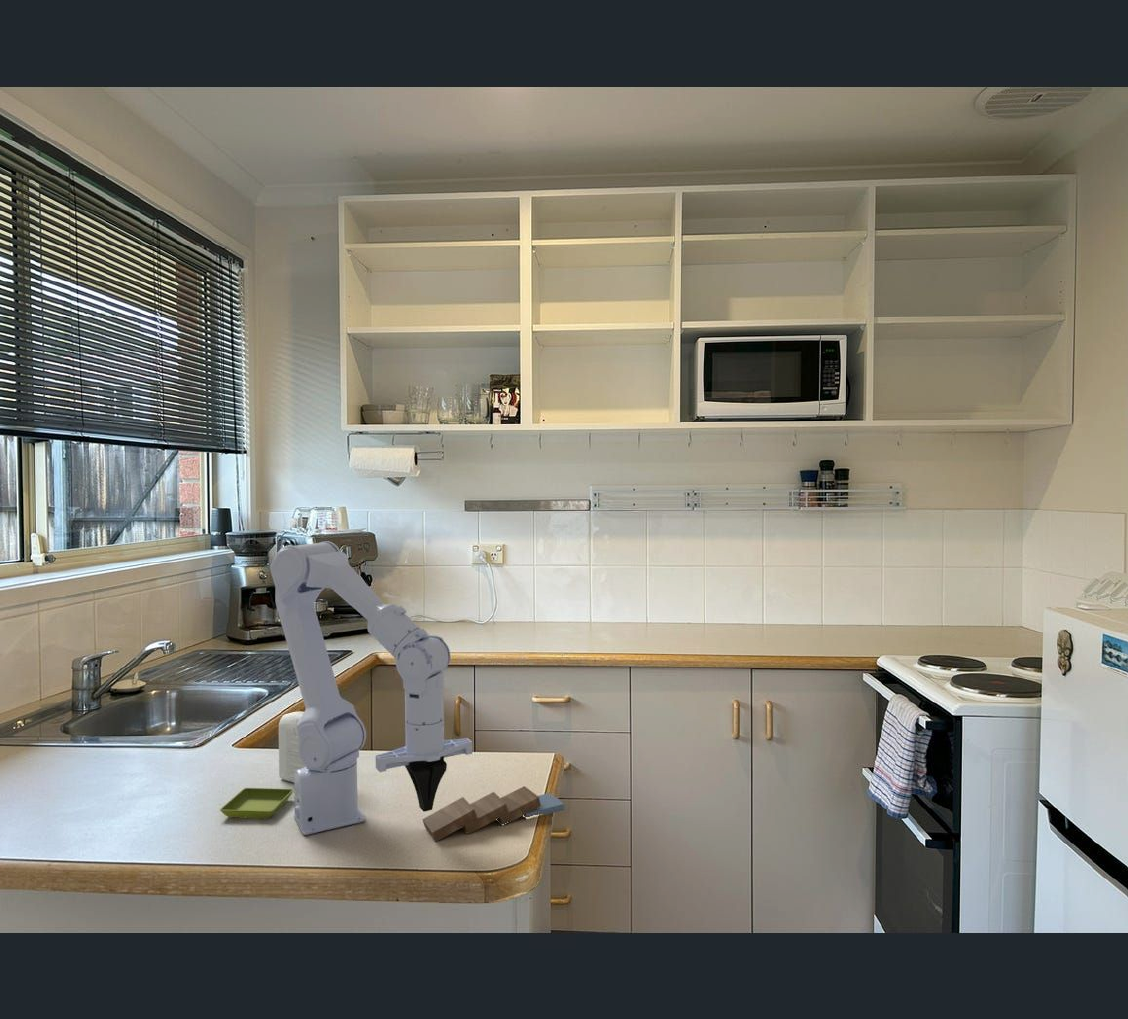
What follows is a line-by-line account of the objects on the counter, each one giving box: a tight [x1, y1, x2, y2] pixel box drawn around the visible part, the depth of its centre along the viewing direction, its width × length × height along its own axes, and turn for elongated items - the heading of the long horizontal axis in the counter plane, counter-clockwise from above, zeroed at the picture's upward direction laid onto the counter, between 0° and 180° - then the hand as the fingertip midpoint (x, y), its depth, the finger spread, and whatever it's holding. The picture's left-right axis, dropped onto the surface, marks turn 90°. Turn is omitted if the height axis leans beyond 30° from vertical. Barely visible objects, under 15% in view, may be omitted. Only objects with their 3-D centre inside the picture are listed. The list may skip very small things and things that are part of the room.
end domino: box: [524, 792, 565, 817], centre depth 124 cm, size 2×5×7 cm
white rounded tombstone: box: [278, 711, 328, 783], centre depth 136 cm, size 10×4×12 cm, turn 60°
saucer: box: [219, 787, 294, 819], centre depth 125 cm, size 9×9×2 cm
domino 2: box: [461, 791, 509, 835], centre depth 119 cm, size 2×5×7 cm
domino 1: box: [421, 796, 477, 843], centre depth 116 cm, size 2×5×7 cm
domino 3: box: [497, 785, 541, 825], centre depth 122 cm, size 2×5×7 cm
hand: (425, 808), depth 114 cm, fingers closed
